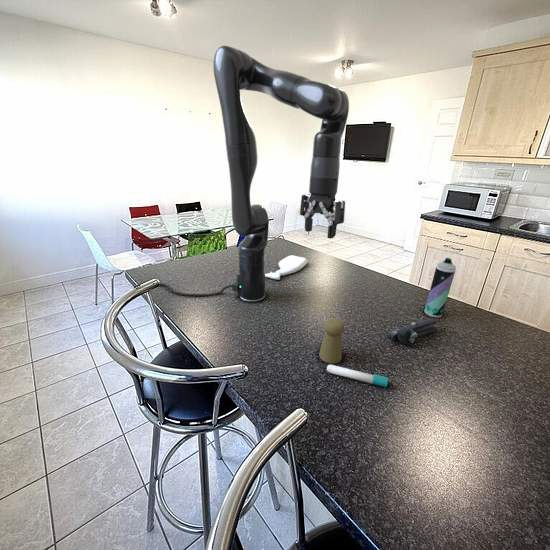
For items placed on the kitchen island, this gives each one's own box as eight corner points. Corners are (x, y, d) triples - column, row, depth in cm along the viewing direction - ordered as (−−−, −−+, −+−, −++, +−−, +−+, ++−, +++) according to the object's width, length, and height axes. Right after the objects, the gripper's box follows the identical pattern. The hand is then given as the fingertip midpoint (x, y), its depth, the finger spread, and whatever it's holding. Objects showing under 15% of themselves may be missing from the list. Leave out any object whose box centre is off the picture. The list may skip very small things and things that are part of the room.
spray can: (421, 309, 102) (435, 255, 94) (436, 308, 102) (451, 255, 94) (430, 317, 97) (445, 261, 89) (445, 317, 97) (462, 261, 89)
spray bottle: (308, 264, 138) (282, 283, 119) (288, 259, 143) (260, 277, 124) (309, 258, 136) (282, 277, 118) (289, 254, 142) (260, 271, 123)
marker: (325, 373, 72) (326, 366, 71) (327, 367, 74) (328, 360, 73) (386, 389, 68) (388, 382, 67) (386, 382, 70) (388, 375, 69)
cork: (341, 365, 75) (347, 329, 70) (318, 361, 76) (322, 326, 72) (341, 350, 80) (346, 316, 76) (319, 347, 81) (323, 313, 77)
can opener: (403, 351, 80) (407, 335, 78) (384, 338, 86) (387, 321, 84) (444, 335, 88) (449, 319, 86) (424, 323, 94) (428, 308, 91)
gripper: (295, 173, 80) (292, 231, 87) (336, 178, 70) (330, 243, 77) (314, 172, 85) (310, 227, 91) (355, 177, 75) (347, 238, 81)
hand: (319, 234), depth 84 cm, fingers open, 8 cm apart
